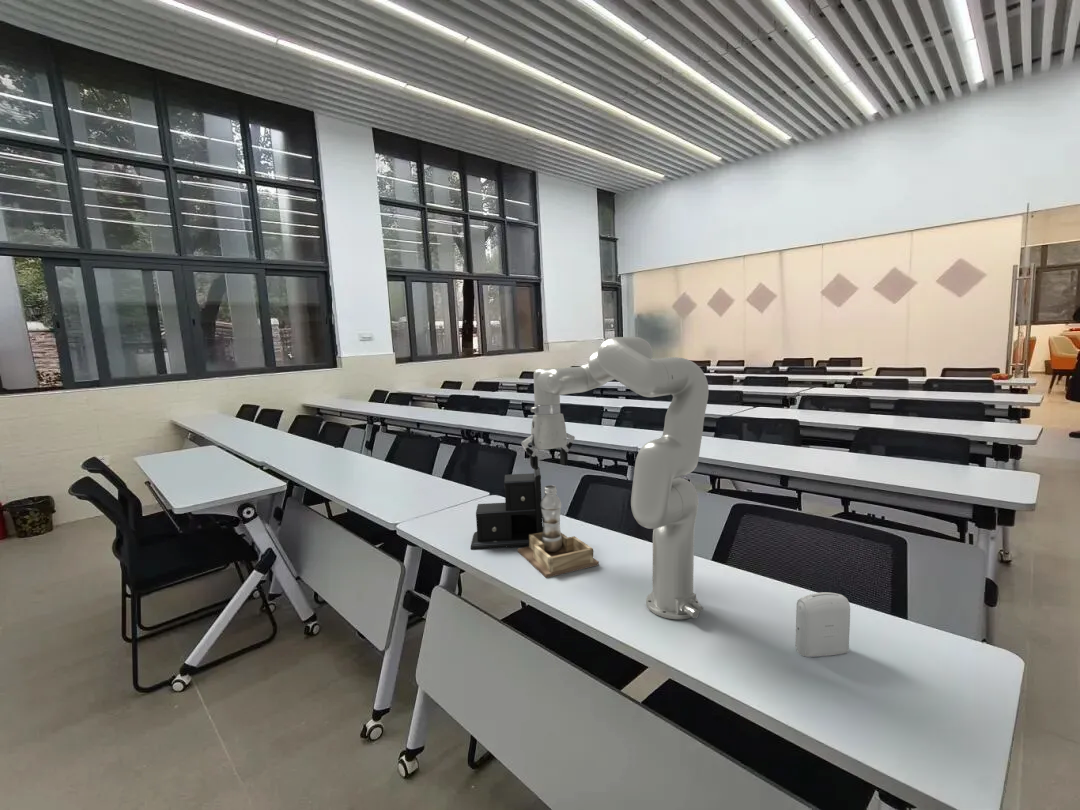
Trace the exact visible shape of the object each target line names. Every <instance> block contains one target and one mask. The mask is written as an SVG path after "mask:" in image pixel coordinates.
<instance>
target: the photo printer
mask: <svg viewBox="0 0 1080 810" xmlns="http://www.w3.org/2000/svg"><path fill="white" fill-rule="evenodd" d="M795 612H796V613H795V619H796V620H795V642H794V643H795V647H796V651H797V652H798V654H799V655H801V656H803V657H806V658H813V657H825V656H834V655H843V654H847V653H849V648H850V630H851V629H850V627H851V626H850V625H851V624H850V623H851V605H850V602H849V600H848V598H847V597H846V596H844V595H843V594H841V593H835V592H825V591H824V592H823V591H822V592H816V593H810V594H807V595H804V596H802V597H800V598H798V599H797V602H796V610H795Z"/></svg>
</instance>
